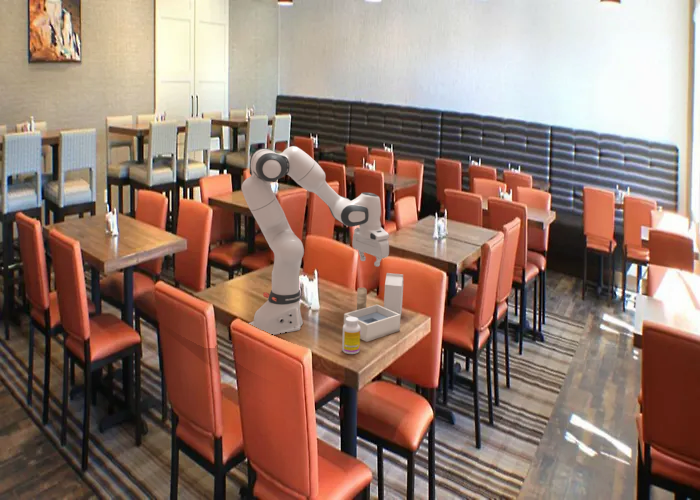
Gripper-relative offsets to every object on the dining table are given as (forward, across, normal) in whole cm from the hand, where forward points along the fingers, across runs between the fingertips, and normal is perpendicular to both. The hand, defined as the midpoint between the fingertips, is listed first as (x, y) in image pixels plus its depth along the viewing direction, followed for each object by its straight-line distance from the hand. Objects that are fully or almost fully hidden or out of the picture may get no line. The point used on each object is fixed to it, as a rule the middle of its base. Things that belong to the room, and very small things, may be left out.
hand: (369, 263), depth 245 cm
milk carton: (+24, +6, +8) cm, 26 cm away
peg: (+23, -2, -3) cm, 24 cm away
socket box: (+23, +13, -10) cm, 28 cm away
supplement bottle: (+23, +24, -28) cm, 43 cm away
